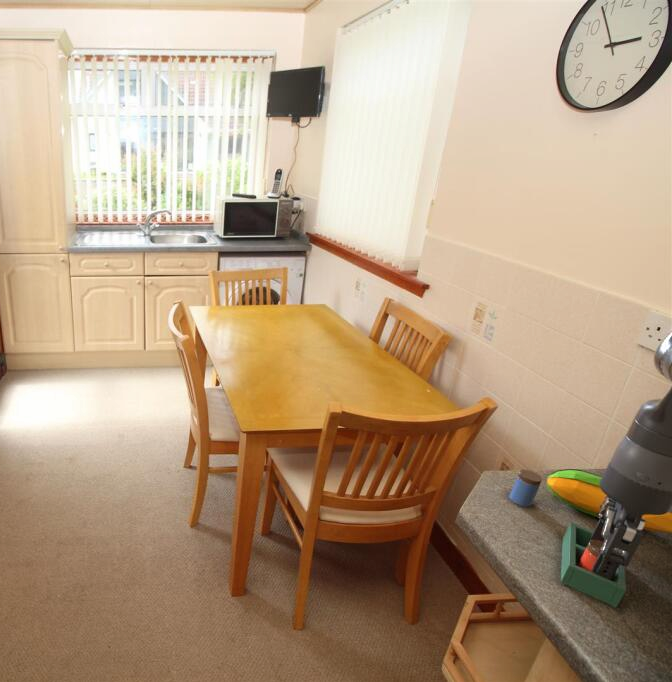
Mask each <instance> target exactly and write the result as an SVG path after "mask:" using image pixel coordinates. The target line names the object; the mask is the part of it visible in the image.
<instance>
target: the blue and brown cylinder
mask: <svg viewBox="0 0 672 682" xmlns="http://www.w3.org/2000/svg"><path fill="white" fill-rule="evenodd" d="M542 483H543V477H542V476H541V475H540V474H538V473H537V472H535V471H533V470H530V469H524V468H523V469H520V470H519V471H518V474H517V476H516V479H515V481H514V483H513V486H512V488H511V490H510V493H509V495H508V497H509V499H510V500H511V501H512V502H513V503H515V504H516V505H519V506H521V507H525V508H530V507H532V505H533V503H534V500H535V498H536V496H537V494H538V492H539V489H540V487H541V484H542Z"/></svg>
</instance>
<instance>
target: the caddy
mask: <svg viewBox="0 0 672 682" xmlns="http://www.w3.org/2000/svg"><path fill="white" fill-rule="evenodd" d="M593 531H594V530H591V529H589V528H587V527H583V526H581V525H579V524H576V523H574V522H571V521H570V522H569V524H568V526H567V528H566V531H565V532H564V534H563V537H562V545H561V567H560V569H561V570H560V583H561V584H563V585H566V586H568V587H570V588H572V589H575V590H576V591H579V592H580V593H583V594H585V595H587V596H590V597H592V598H593V599H596V600H598V601H600V602H603V603H605V604H607V605H609V606H611V607H613V608H617V607H618V605H619V603H620V602H621V600H622V599H623V597H624V595H625V594H626V592H627V584H626V575H625V567H624V566H622V565H619V567H618V569H617V571H616V572H615V574H614V576H613V578H612V579H606V578H603V577H601V576H599V575H597V574H595V573H592V572H590V571H588V570H585V569H583V568H581V567H578V566H577V565H578V563H579V561H580V559H581V557H582V555H583V553H584V551H585V549H586V547H587V545H588V543H589V541H591V540H592V539H591V535H592V533H593ZM615 549H616V550H617V551H618V552H621V549H618V548H615Z"/></svg>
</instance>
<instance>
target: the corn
mask: <svg viewBox="0 0 672 682" xmlns="http://www.w3.org/2000/svg"><path fill="white" fill-rule="evenodd" d="M601 478H602V476H601V475H599V474H596V473H593V472H589V471H586V470H582V469H575V468H567V469H557V470H556V471H554V472H551V473H550V474H548V476H547V479H546V485H547V488H548V489H549V491H550V492H551V494H553V495H554V496H555V497H556V498H558V499H559V500H560V501H562V502H563V503H565V504H566V505H568V506H571V507H573V508H574V509H576V510H578V511H580V512H582V513H584V514H588V515H589V516H592V517H595V518H598V519H599V513H600V511H601V510H600V505H602V503H603V501H604V499H605V497H606V494H605V493H604V492H603V491H602V490H601V488H600V485H599V483H600V480H601ZM642 519H645V524H644V527H643V529H642V530H646V531H649V532H658V533H663V534H664V533H666V534H672V512H670V511H669V512H668V513H666V514H663V515H651V514H648V515H643V516H642Z"/></svg>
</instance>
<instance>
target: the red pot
mask: <svg viewBox="0 0 672 682" xmlns="http://www.w3.org/2000/svg"><path fill="white" fill-rule="evenodd" d="M603 543H604V542H602V541H599V540H591V541H589V543H588V545H587V547H586V549H585V551H584V553H583V555H582V557H581V559H580V561H579V563H578V565H577V566H578V567H581V568H583V569H585V570H588V571H590V572H592V573H593V571H592V567H593V565H594V563H595V561H596V559H597V557H598V556H599V554H600V552H601V551H600V549H601V548H602V546H603ZM613 550H615V551H617V550H616V549H615V548H614V549H613Z"/></svg>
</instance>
